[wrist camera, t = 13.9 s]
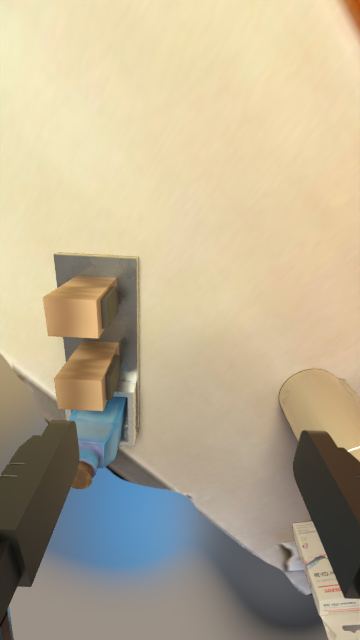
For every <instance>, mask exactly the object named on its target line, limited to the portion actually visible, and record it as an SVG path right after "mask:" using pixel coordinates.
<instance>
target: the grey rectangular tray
mask: <svg viewBox="0 0 360 640" xmlns="http://www.w3.org/2000/svg"><path fill="white" fill-rule="evenodd" d="M54 262H55V270H56V279H57V288H58V287H60V286H62V285H63V284H65V283H66V282H68V281H69V280H71V279H72V278H74V277H75V276H88V277H107V278H117V293H118V313H117V315H116V317H115V318H114V320H113V322H112V323H111V325H110V327H109V328H108V329H104V331H103V332H102V334H101V335H100V337H99V338H78V337H63V339H64V348H65V357H66V362H67V361H68V359H69V358H70V357H71V355H72V354H73V353H74V351H75V350H76V349H77V347H78V346H79V345H80V343H81V342H82V341H90V342H111V343H119V355H120V378H119V381H118V384H117V386H116V389H115V392H114V394H113V397H127V403H126V413H125V423H124V429H123V433H122V436H121V440H120V444H119V446H134V444H135V439H136V434H137V432H138V429H139V271H138V257H135V256H115V255H96V254H77V253H56V254H54ZM72 411H73V410H68V409H65V412H66V420H67V421H69V417H70V415H71V413H72Z"/></svg>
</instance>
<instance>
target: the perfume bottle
mask: <svg viewBox="0 0 360 640" xmlns="http://www.w3.org/2000/svg"><path fill="white" fill-rule="evenodd" d="M126 403H127V397H112V400H107V402H106V405H105V408H104V410H103V411H90V410H73V411H72V413H71V415H70V417H69V421H75V423H76V428H77V436H78V444H79V452H80V458H79V465H78V469H77V472H76V475H75V478H74V480H73V483H72V485H71V487H72V488H75V489H84V488H87V487H89V486H90V485H91V483H92V478H93V477H94V476H95V475H96V472H97V469H98V468H104V467H105V466H107V465H108V464H110V463H111V462H112V461H114V460H115V459H116V455H117V451H118V448H119V444H120V440H121V436H122V433H123V429H124V423H125V413H126Z"/></svg>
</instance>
